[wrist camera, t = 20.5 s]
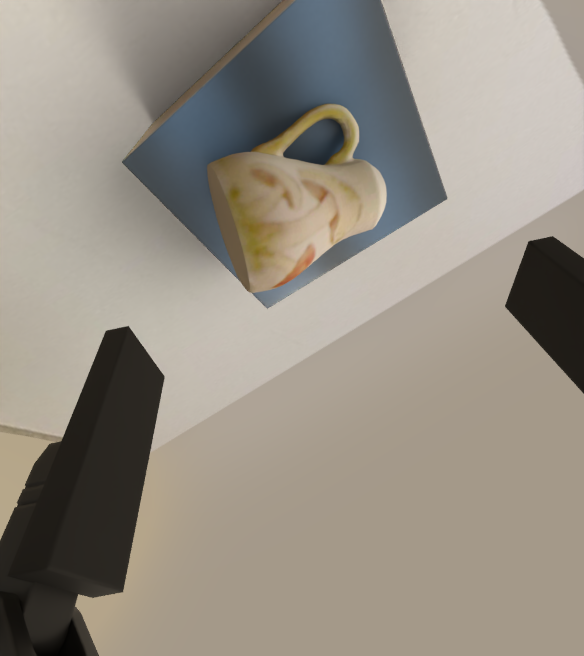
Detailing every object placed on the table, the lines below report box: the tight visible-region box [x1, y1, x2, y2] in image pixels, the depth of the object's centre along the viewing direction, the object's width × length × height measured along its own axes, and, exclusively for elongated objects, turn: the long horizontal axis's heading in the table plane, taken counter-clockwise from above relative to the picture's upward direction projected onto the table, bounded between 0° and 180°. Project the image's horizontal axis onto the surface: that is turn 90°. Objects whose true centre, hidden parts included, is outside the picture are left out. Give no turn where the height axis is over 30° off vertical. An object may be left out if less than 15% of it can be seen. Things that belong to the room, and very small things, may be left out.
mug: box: [207, 104, 387, 293], centre depth 19 cm, size 8×10×10 cm
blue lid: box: [122, 0, 447, 308], centre depth 21 cm, size 15×14×1 cm
